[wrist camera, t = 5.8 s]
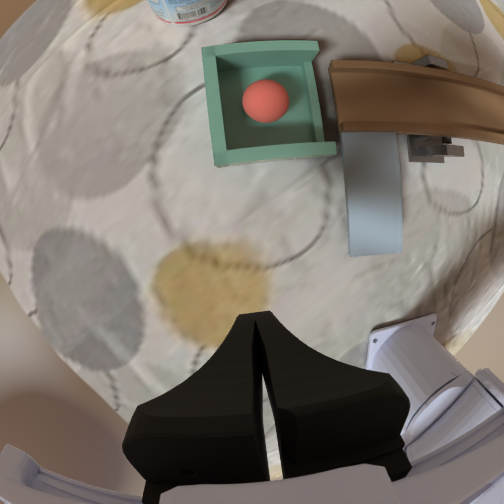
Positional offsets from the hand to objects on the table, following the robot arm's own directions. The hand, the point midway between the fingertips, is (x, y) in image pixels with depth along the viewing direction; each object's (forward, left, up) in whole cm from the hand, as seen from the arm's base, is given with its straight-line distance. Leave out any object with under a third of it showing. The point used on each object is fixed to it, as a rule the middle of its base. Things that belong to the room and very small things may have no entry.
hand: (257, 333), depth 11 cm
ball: (+11, -2, -8) cm, 14 cm away
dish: (+11, -3, -10) cm, 15 cm away
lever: (+7, -16, -7) cm, 19 cm away
